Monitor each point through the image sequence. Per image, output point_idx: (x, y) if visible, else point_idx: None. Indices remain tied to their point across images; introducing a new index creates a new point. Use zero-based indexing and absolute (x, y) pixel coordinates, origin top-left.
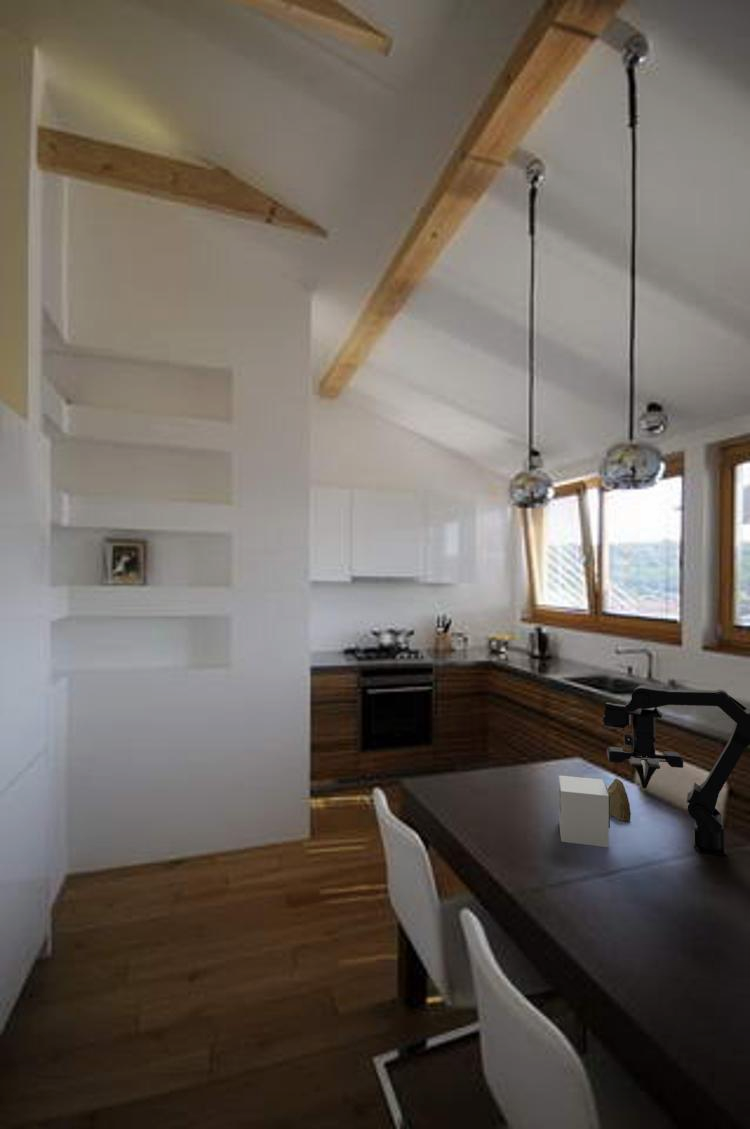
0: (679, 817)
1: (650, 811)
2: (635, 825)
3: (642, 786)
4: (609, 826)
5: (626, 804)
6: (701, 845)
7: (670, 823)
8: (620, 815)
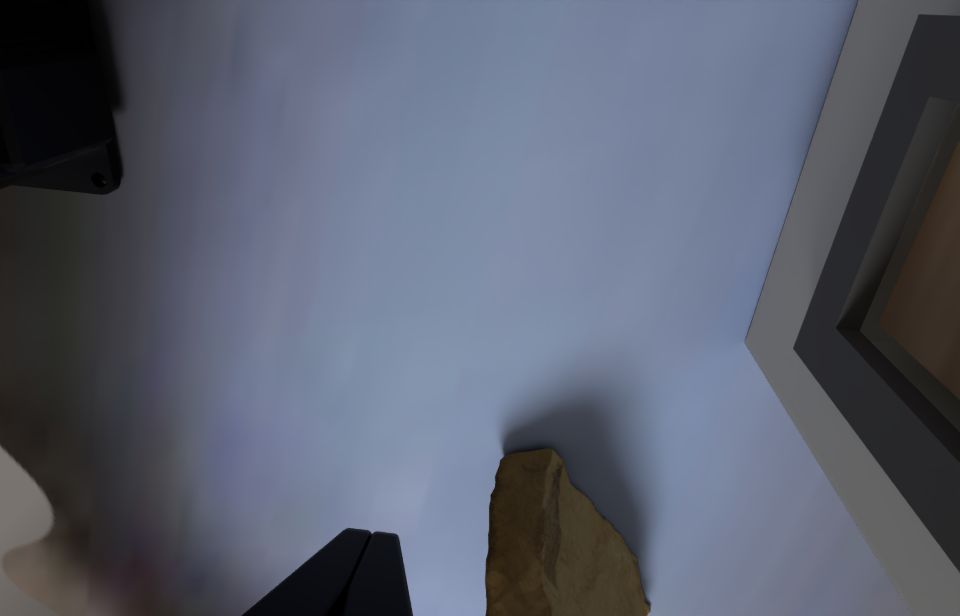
0: (178, 535)
1: None
2: (481, 401)
3: (400, 555)
4: (934, 16)
5: (512, 565)
6: (34, 34)
7: (241, 456)
8: (561, 492)
